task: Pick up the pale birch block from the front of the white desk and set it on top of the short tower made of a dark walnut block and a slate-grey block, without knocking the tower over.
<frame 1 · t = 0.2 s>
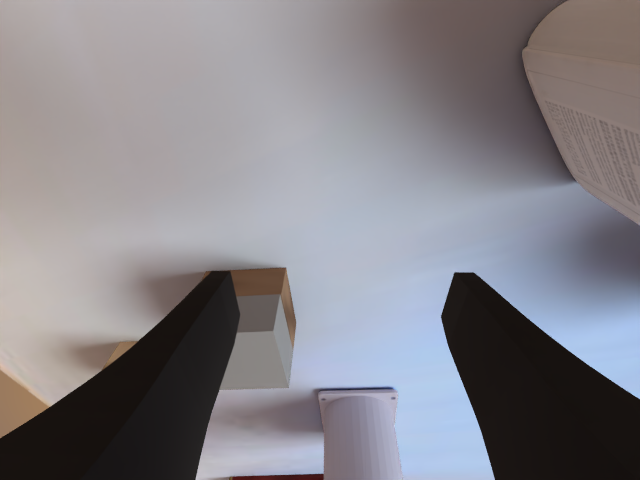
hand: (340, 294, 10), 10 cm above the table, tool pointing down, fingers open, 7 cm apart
walnut base block: (254, 296, 25), on the table, touching slate-grey top block
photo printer: (583, 101, 16), on the table
slate-grey top block: (246, 326, 22), point 3 cm above the table, touching walnut base block
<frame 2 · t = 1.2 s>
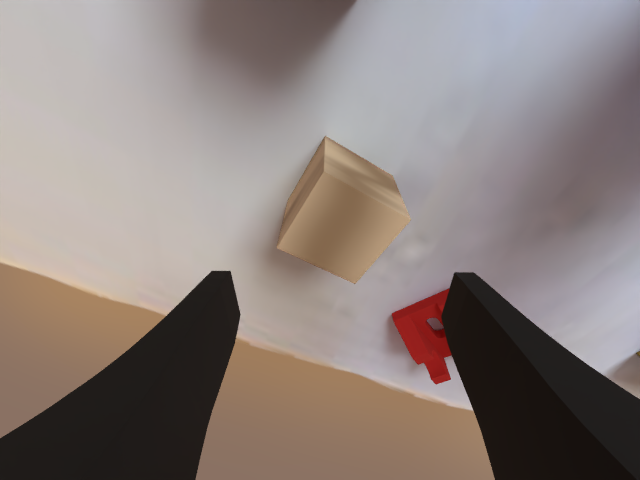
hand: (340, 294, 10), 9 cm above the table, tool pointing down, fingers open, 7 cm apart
bracket: (436, 319, 25), on the table
birch block: (338, 187, 19), on the table
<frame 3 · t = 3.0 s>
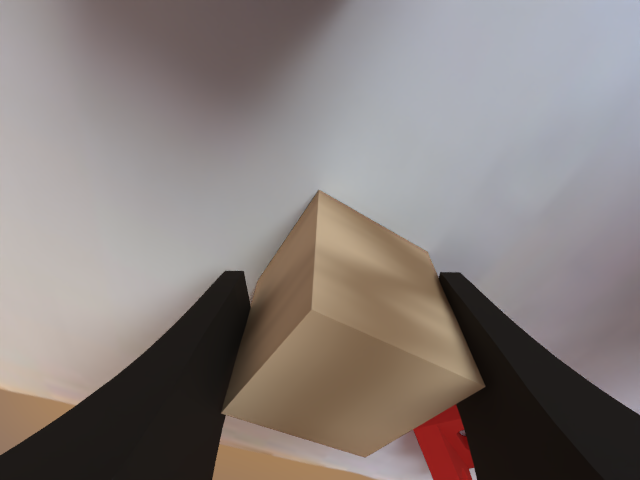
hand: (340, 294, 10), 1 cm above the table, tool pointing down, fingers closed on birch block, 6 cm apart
bracket: (465, 421, 19), on the table
birch block: (339, 266, 12), on the table, touching gripper
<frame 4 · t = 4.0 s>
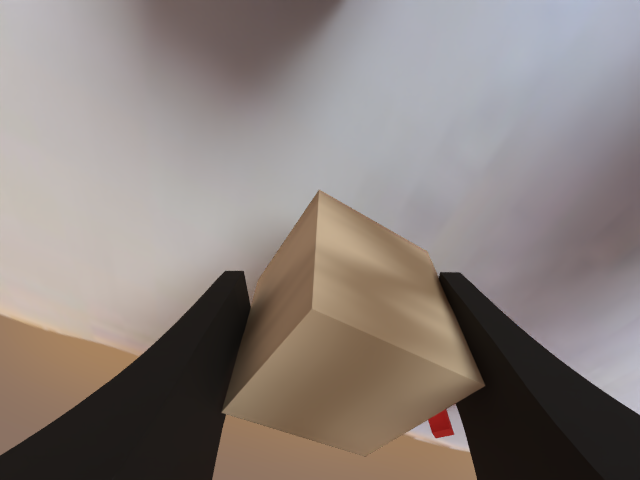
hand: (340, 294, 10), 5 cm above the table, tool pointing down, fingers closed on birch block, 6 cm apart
bracket: (443, 363, 22), on the table
birch block: (339, 266, 12), point 4 cm above the table, touching gripper
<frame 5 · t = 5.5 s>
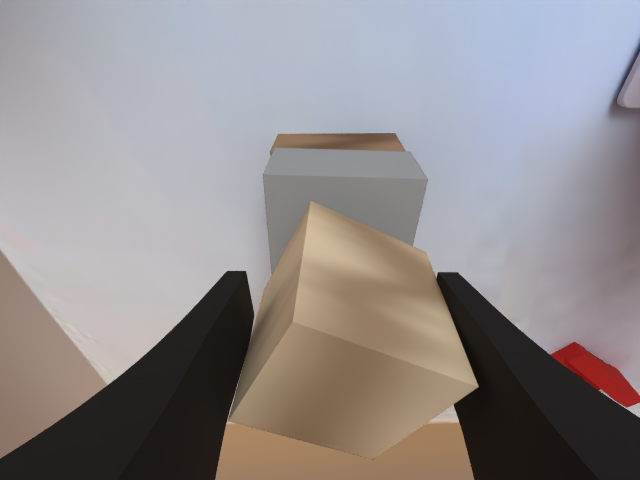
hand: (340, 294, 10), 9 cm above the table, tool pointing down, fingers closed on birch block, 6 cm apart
walnut base block: (335, 185, 18), on the table, touching slate-grey top block
bracket: (565, 364, 27), on the table
birch block: (340, 272, 12), point 7 cm above the table, touching gripper
slate-grey top block: (338, 209, 16), point 3 cm above the table, touching walnut base block
when the fingers open (8 cm above the table, at t = 6.6 s): birch block drops 1 cm, resting on slate-grey top block.
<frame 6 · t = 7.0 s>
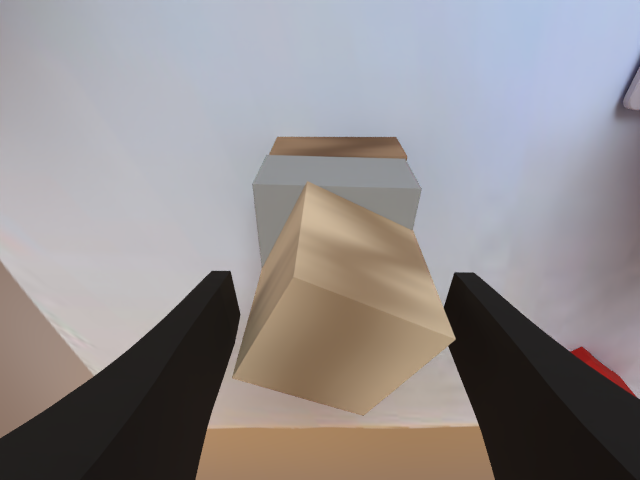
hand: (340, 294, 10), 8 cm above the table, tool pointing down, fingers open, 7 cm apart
walnut base block: (335, 189, 18), on the table, touching slate-grey top block
bracket: (568, 369, 27), on the table
birch block: (333, 250, 13), point 6 cm above the table, touching slate-grey top block
slate-grey top block: (332, 216, 15), point 3 cm above the table, touching birch block, walnut base block
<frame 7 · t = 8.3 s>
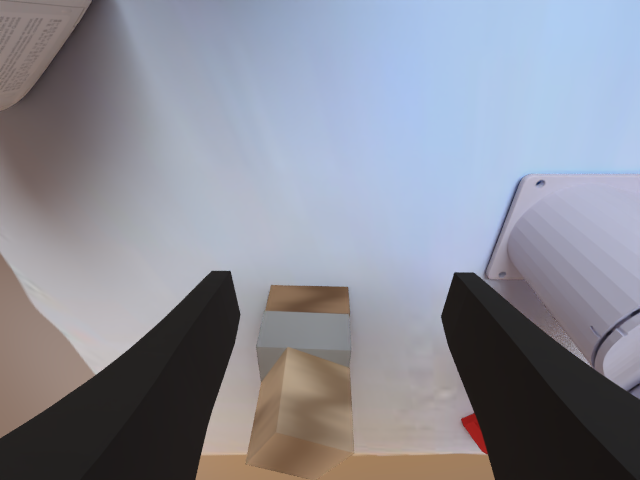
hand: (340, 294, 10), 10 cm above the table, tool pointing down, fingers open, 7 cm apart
walnut base block: (310, 309, 26), on the table, touching slate-grey top block
bracket: (494, 416, 36), on the table
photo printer: (26, 12, 15), on the table
birch block: (304, 374, 21), point 6 cm above the table, touching slate-grey top block
slate-grey top block: (306, 339, 24), point 3 cm above the table, touching birch block, walnut base block
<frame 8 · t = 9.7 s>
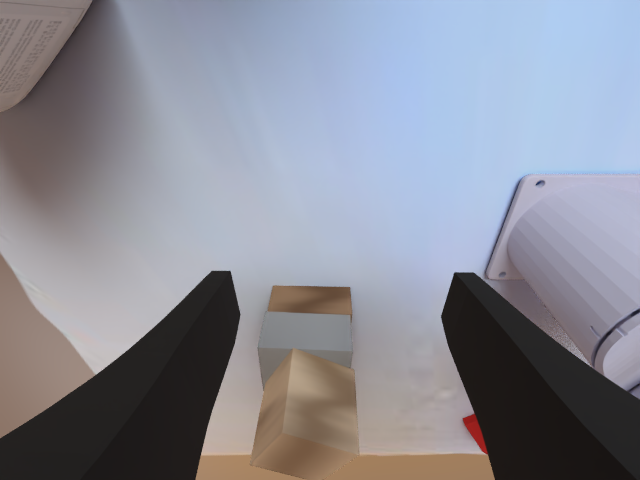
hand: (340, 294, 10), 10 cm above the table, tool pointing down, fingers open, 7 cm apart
walnut base block: (312, 310, 26), on the table, touching slate-grey top block
bracket: (494, 416, 36), on the table
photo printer: (26, 13, 15), on the table
birch block: (308, 376, 21), point 6 cm above the table, touching slate-grey top block
slate-grey top block: (307, 340, 24), point 3 cm above the table, touching birch block, walnut base block
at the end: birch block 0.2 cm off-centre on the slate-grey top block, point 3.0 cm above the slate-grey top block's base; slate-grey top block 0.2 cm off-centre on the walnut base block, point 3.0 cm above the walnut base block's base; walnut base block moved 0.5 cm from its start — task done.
